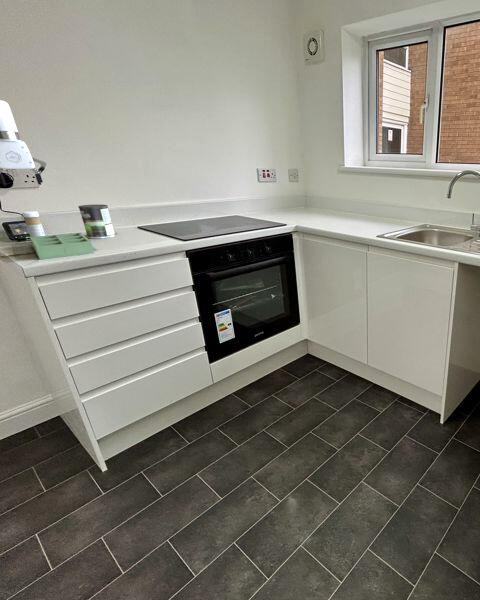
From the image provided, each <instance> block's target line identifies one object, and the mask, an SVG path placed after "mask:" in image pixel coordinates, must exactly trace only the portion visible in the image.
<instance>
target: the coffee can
mask: <svg viewBox="0 0 480 600" xmlns="http://www.w3.org/2000/svg"><path fill="white" fill-rule="evenodd" d="M77 208H78V209H79V212H80V216H81V220H82V222H83V223H82V224H83V226H84V230H85V233H86V238H87V239H92V240H97V239H100V240H101V239H102V240H103V239H111V238H114V237H116V233H115V230H114V225H113V222H112V218H111V213H110V211H109V205H108V204H83V205H81V204H80V205H78V206H77Z"/></svg>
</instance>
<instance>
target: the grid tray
mask: <svg viewBox="0 0 480 600" xmlns="http://www.w3.org/2000/svg"><path fill="white" fill-rule="evenodd" d="M29 241H30V243H31V247H32V248H33V250H34V251H35V254H36V256H37V257H38V259H39V260H49V259H55V258H56V259H57V258H64V257H72V256H73V257H74V256H80V255H81V256H82V255H88V254H95V250H94V247H93V244H92V241H91V240H90V238H87V236H85V235H84V234H83V233H82V232H71V233H62V234H61V233H60V234H50V235H45V236H36V237H30V236H29Z"/></svg>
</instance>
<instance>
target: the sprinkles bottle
mask: <svg viewBox="0 0 480 600" xmlns="http://www.w3.org/2000/svg"><path fill="white" fill-rule="evenodd" d="M21 214H22V218H23V219H24V221H25V224H26V227H27V229H28V230H27V231H28V233H29V238H30V237H36V236H46V233H45V230H44V228H43V224H42V222H41V220H40V215H39V212H38V211H36V210H35V211H30V210H29V211H22V212H21Z"/></svg>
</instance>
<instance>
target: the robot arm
mask: <svg viewBox="0 0 480 600" xmlns="http://www.w3.org/2000/svg"><path fill="white" fill-rule="evenodd" d="M35 163H37V164H39V165H40V167H39V168H38V169H37V168H36V165H35ZM46 167H47V162H46V161H43V160H41V159H37V158H35V157H32V154H31V152H30V150H29V147H28V146H27V144H26V142H25V141H22V138H21V136H20V133H19V131H18V127H17V124H16V121H15V119H14V115H13V112H12V109H11V106H10V105H9V103H8V102H7V101H5V100H1V99H0V184H3V186H7V183H6V180H5V177H4V175H3V174H2V172H3V170H31V171H33V172H34V176H35V178H36V182H37V184H38V185H39V186H41V185H42V183H44V181H43V178H42V175H41V174H42V173H43V172H44V171H45V169H46Z"/></svg>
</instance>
